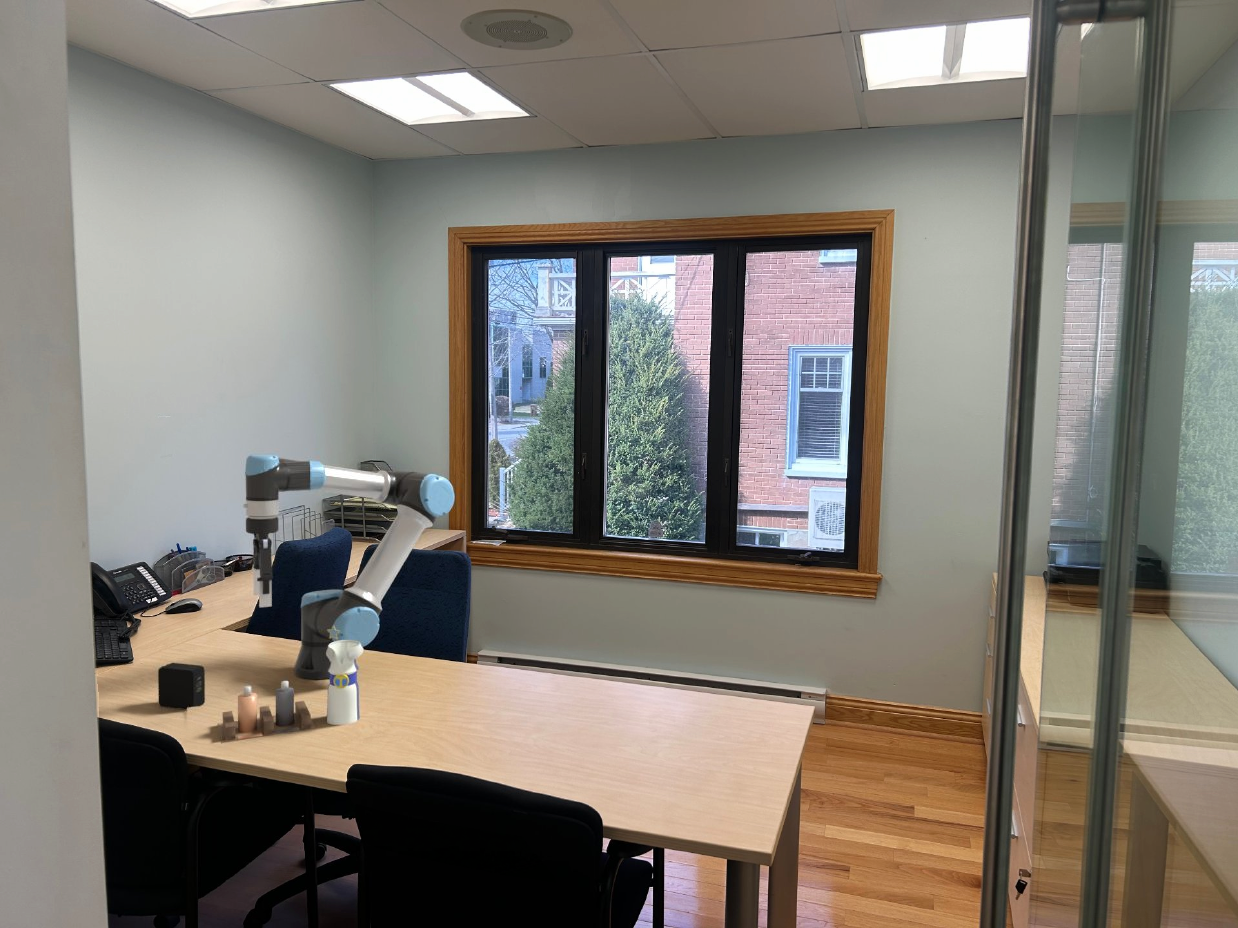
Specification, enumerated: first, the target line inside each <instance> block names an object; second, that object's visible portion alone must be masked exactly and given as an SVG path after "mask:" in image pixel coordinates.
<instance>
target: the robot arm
mask: <svg viewBox="0 0 1238 928" xmlns="http://www.w3.org/2000/svg"><path fill="white" fill-rule="evenodd" d="M244 471H245V472H244V475H245V502H246V503H243V505H242V506H243V508H245V516H247V517H246V518H245V532H246V533H248V534H250V535H251V534H252V535H253V540H252V545H253V547H252V549H253V551H252V553H253V555H252V556H253V557H252V567H253V568H252V569H253V595H254V596H259V599H258V600H259V602H258V603H259V604H258V606H259V608H268V607H272V606H273V605H272V604H273V603H272V601H273V599H272V596H273V595H272V594H273V591H272V590H273V589H272V587H273V586H272V584H273V581H272V580H273V578H274V576H273V562H272V560H273V559H272V544H273V542H272V539H271V538H269V537H270V536H269V534H275V533H277V532H279V517H278V515H279V513H280V512H279V511H280V510H279V509H280V507H279V506H280V501H279V500H280V499H279V495H280V494H279V492H280V493H282V492H298V491H309V492H311V491H313V492H314V491H315V492H322V493H328V494H329V493H330V494H335V495H336V494H337V495H344V496H352V497H359V498H360V497H361V498H367V499H373V501H374V502H375V503H378V504H386V505H390V506H392V507H396V509H397V515H396V517H395V519H394V520H393V522H392V523H391V525H390V526H389V528H388V530H387V531H386V533H385V534H384V536H383V538H382V539H381V540H380V542H379V544H378V546H377V547H376V549H375V550H374V551H373V554H372V556H370V558H369V560H368V561H367V563H366V565H365V567H364V568H363V569H362V572H361V573H360V575H359V576H358V577H357V580H356V581H355V582H354V584H353V586H350V587H348V588H344V589H326V590H325V589H323V590H316V591H311V592H307V593H305V594H303V596H302V597H301V604H300V613H301V615H300V617H301V619H300V620H301V624H300V625H301V626H300V628H301V629H300V631H301V633H300V634H301V642H300V643H301V645H300V648H299V651H298V654H297V658H296V660H295V663H294V674H295V676H297V677H298V678H301V679H307V680H325V679H330V672H329V671H328V669H329V667H330V664H331V662H330V660H329V658H328V657H327V655H326V652H327V649H328V645H329V644H330V643H332V642H335V641H340V640H355V641H358V642H360V644H361V646H362V647H363V648H364V647H365V646H367V645H369V644H370V643H371V642H372V641H373V640H374V639H375V638H376V636H377V635H378V632H379V630H380V617H379V615H380V614H381V612H382V611H383V608H382V603H381V602H382V600H383V598H384V597H385V595H386V593H387V592H388V590H389V589H390V587H391V585H392V583H393V582H394V580H395V578H396V577H397V575H398V573H399V572H400V570H401V569H402V566H404V563H405V562H406V561H407V558H409V555H410V553H411V552H412V550H413V549H414V547H415V545H416V544H417V543H418V540H419V539H420V537H421V535H422V533H423V532H424V531H425V529H428V528H432V527H433V526H434V524H435V522H436V520H437V519H438V517H443V516H446V515H447V514H448V513H449V512H450V511H451V509H452V508H453V506H454V503H455V499H456V498H455V491H454V487H453V485H452V483H451V482H450V481H449V480H448V479H447V478H446V477H444V476H441V475H438V474H434V473H424V472H417V471H389V470H378V471H377V472H373V471H366V470H359V469H354V468H348V467H347V468H346V467H339V466H334V465H328V464H327V465H326V464H323V463H322V462H321V461H318V460H307V461H306V460H304V461H303V460H302V461H300V460H295V459H287V458H281V457H279V456H278V455H277V454H265V453H264V454H262V453H261V454H251V455H249V456H247V457H246V461H245V470H244ZM333 625H334V627H335V629H336V630H339V631H340V632H339V633H338V634H337V639H336V638H334V637H333V638H330V639H329V637H330V633H329V632H328V631H327V630H328V629H332V627H333Z"/></svg>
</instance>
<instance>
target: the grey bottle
mask: <svg viewBox="0 0 1238 928" xmlns="http://www.w3.org/2000/svg"><path fill="white" fill-rule="evenodd" d="M294 713H295V688H293V687H291V686H289V681H288V680H283V681H281V682H280V688H277V689H276V690H275V715H276V725H277V726H281V727H284V726H289V725H292V724H293V723H294Z"/></svg>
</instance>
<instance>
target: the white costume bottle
mask: <svg viewBox="0 0 1238 928" xmlns="http://www.w3.org/2000/svg"><path fill="white" fill-rule="evenodd" d="M327 631H328V632H329V633H330V637H329V639H330V638H333V637H334V638H336V639H337V634H338V633H339V632H340V631H339V630H336V629H335V627H334V625H333V627H332V629H328V630H327ZM363 653H364V647H362V646H361V644H360V642H358V641H355V640H340V641H335V642H332V643H330V644H329V645H328V649H327V652H326V655H327V657H328V658H329V660H330V662H331V664H330V667H329V669H328V671H329V672H330V678H329V684H328V686H327V705H326V706H327V708H326V722H327V724H330V725H334V726H344V725H345V726H346V725H350V724H354V723H356V722H358V721H359V720H360V688H359V682H358V670H359V668H360V667H359V666H358V663H357V659H358V658H359V657H360V656H362V655H363Z"/></svg>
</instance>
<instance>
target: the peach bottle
mask: <svg viewBox="0 0 1238 928" xmlns="http://www.w3.org/2000/svg"><path fill="white" fill-rule="evenodd" d="M257 698H258V694H257V693H256V692H252V686H251V685H246V686H243V692H242V693H241V694H238V695H237V721H238V731H239V732H241V733H248V732H252V731H255V730H256V729H257V718H258V699H257Z"/></svg>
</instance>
